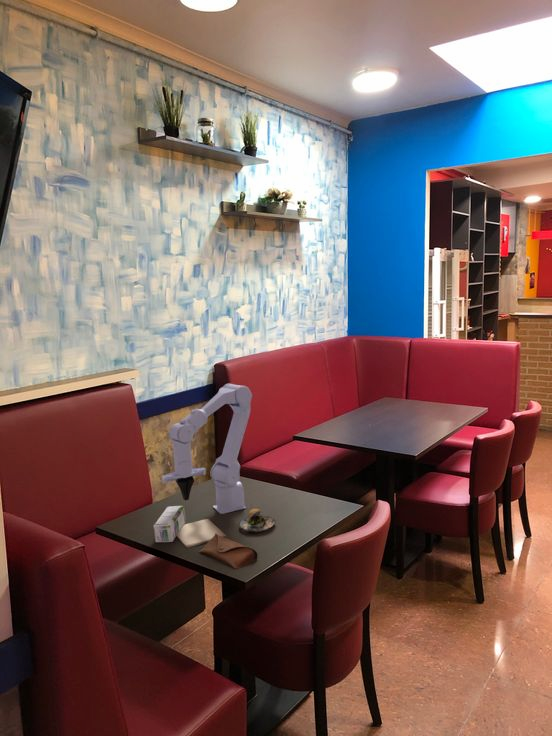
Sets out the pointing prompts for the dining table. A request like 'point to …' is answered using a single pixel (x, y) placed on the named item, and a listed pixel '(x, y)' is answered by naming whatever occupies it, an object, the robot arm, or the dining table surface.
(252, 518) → the burger
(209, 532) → the beige folded napkin
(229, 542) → the sunglasses case
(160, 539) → the syrup box
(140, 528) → the dining table surface
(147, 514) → the dining table surface
